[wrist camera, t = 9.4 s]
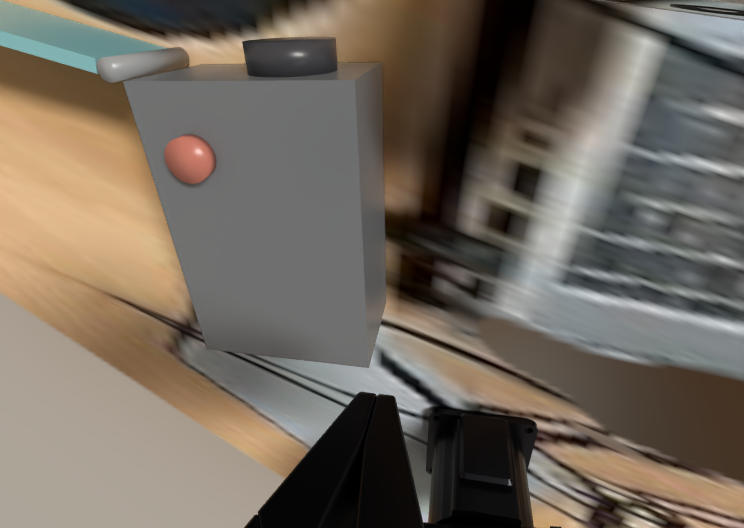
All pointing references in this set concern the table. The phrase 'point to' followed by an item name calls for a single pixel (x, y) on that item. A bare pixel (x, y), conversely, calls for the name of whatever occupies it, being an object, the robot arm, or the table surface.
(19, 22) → the side door
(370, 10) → the table surface
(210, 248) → the box
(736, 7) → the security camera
